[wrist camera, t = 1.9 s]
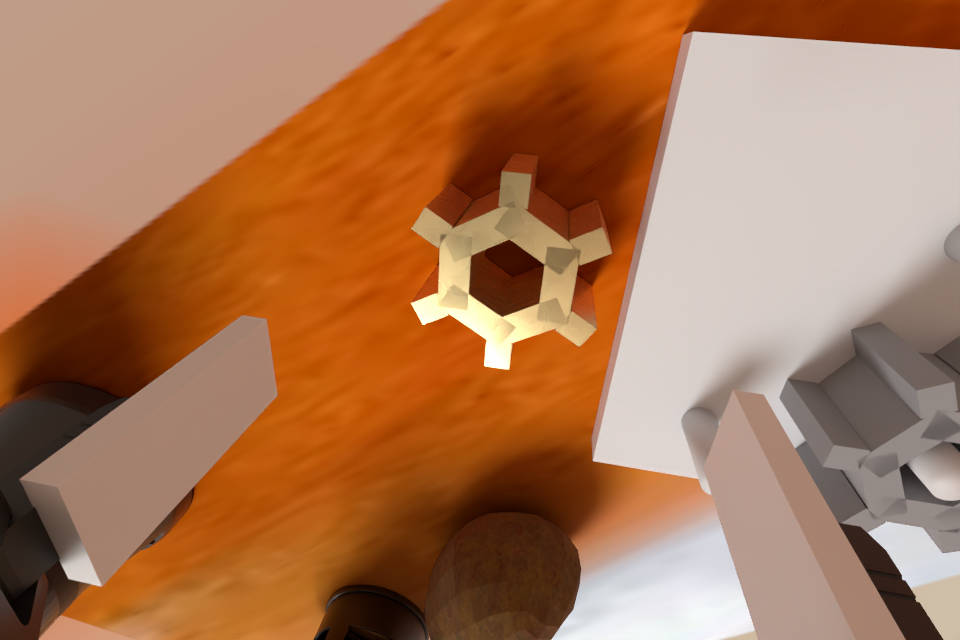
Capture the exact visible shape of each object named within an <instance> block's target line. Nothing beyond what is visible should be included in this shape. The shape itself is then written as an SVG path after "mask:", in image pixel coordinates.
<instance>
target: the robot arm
mask: <svg viewBox="0 0 960 640" xmlns="http://www.w3.org/2000/svg"><path fill="white" fill-rule="evenodd" d="M277 395H278V394H277V388H276V381H275V374H274V367H273V360H272V353H271V346H270V340H269V333H268V326H267V319H264V318H257V317H250V316H244V315H242V316H241V317H239V318H238V319H237V320H235V321H234V322H233V323H231V324H230V325H228V326H227V327H226V328H224V329H223V330H222V331H220V332H219V333H218V334H216V335H215V336H214V337H212V338H211V339H209V340H208V341H207V342H205V343H204V344H203V345H201V346H200V347H199V348H197V349H196V350H194V351H193V352H192V353H190V354H189V355H188V356H186V357H185V358H184V359H182V360H181V361H180V362H178V363H177V364H175V365H174V366H173V367H171V368H170V369H169V370H167V371H166V372H165V373H163V374H162V375H160V376H159V377H158V378H156V379H155V380H154V381H152V382H151V383H150V384H148V385H147V386H146V387H144V388H143V389H141V390H140V391H139V392H137V393H136V394H135V395H133V396H132V397H131V398H129V397H123V398H121V399H118V398H116V397H114V396H112V395H109V394H107V393H105V392H103V391H100V390H97V389H94V388H91V387H88V386H84V385H80V384H75V383H68V382H50V383H44V384H40V385H37V386H35V387H33V388H31V389H29V390H28V391H26V392H24V393H23V394H21V395H19V396H17V397H16V398H14V399H12V400H11V401H9V402H7V403H6V404H4V405H3V406H2V407H0V640H39V638H40V637H41V636H42V635H43V634H44V632H45V631H46V630H47V629H48V628H49V627H50V626H51V625H52V624H53V623H54V622H55V620H56V619H57V618H58V617H59V616H60V615H61V614H62V613H63V612H64V611H65V610H66V609H67V608H68V607H69V606H70V605H71V603H72V602H73V601H74V600H75V599H76V598H77V597H78V596H79V595H80V594H81V593H82V592H83V591H84V590H85V589H87V588H88V587H89V586H91V585H97V586H101V587H102V586H103V585H104V584H105V583H106V582H107V581H108V580H109V579H110V578H111V576H112V575H113V574H114V573H115V572H116V571H117V570H118V569H119V568H120V567H121V566H122V564H123V563H124V562H125V561H126V560H128V559H129V558H131V557H132V556H133V555H135V554H136V553H137V552H139V551H140V550H143V549H146V548H148V547H150V546H152V545H154V544H155V543H157V542H158V541H160V540H161V539H162V538H163V537H165V536H166V535H167V534H168V533H169V532H170V530H171V529H172V528H173V527H174V526H175V525H176V524H177V522H178V521H179V520H180V519H181V518H182V517H183V516H184V514H185V513H186V512H187V510H188V508H189V506H190V503H191V500H192V488H193V487H194V486H195V485H196V484H197V483H198V482H199V480H200V479H201V478H202V477H203V476H204V475H205V474H206V473H207V472H208V471H209V470H210V468H211V467H212V466H213V465H214V464H215V463H216V462H217V461H218V460H219V459H220V458H221V456H222V455H223V454H224V453H225V452H226V451H227V450H228V449H229V448H230V447H231V446H232V444H233V443H234V442H235V441H236V440H237V439H238V438H239V437H240V436H241V435H242V434H243V432H244V431H245V430H246V429H247V428H248V427H249V426H250V425H251V424H252V423H253V422H254V420H255V419H256V418H257V417H258V416H259V415H260V414H261V413H262V412H263V411H264V410H265V408H266V407H267V406H268V405H269V404H270V403H271V402H272V401H273V400H274V399H275V398H276V396H277ZM703 469H704V472H705V475H706V478H707V481H708V484H709V487H710V491H711V494H712V497H713V500H714V503H715V506H716V509H717V512H718V516H719V519H720V522H721V525H722V528H723V531H724V534H725V537H726V541H727V544H728V547H729V550H730V553H731V556H732V559H733V562H734V565H735V569H736V572H737V575H738V578H739V581H740V584H741V587H742V590H743V594H744V597H745V600H746V603H747V606H748V609H749V612H750V615H751V618H752V622H753V625H754V628H755V631H756V634H757V637H758V640H943V638H942V637H941V635H940V634H939V632H938V631H937V629H936V628H935V626H934V624H933V623H932V621H931V620H930V618H929V617H928V616H927V614H926V612H925V610H924V609H923V607H922V606H921V604H920V603H919V602H916V600H915V598H916V596H915V595H914V594H913V592H912V591H911V589H910V587H909V586H908V584H907V583H906V581H904V580H902V575H901V573H900V572H899V570H898V569H897V567H896V566H895V564H894V562H893V561H892V559H891V558H890V556H889V555H888V553H887V552H886V550H885V549H884V548H883V547H882V546H881V545H880V544H879V543H877V542H876V541H875V540H874V539H873V538H872V537H871V536H870V535H869V534H868V533H867V532H866V531H865V530H864V529H863V528H862V527H860V526H854V525H849V524H843V523H838V522H837V520H836V519H835V517H834V515H833V513H832V512H831V510H830V508H829V506H828V505H827V503H826V501H825V500H824V498H823V496H822V494H821V493H820V491H819V489H818V487H817V486H816V484H815V482H814V481H813V479H812V477H811V475H810V474H809V472H808V470H807V468H806V467H805V465H804V463H803V462H802V460H801V458H800V456H799V455H798V453H797V451H796V449H795V448H794V446H793V444H792V443H791V441H790V439H789V437H788V436H787V434H786V432H785V430H784V429H783V427H782V425H781V424H780V422H779V420H778V418H777V417H776V415H775V413H774V412H773V410H772V408H771V406H770V405H769V403H768V401H767V399H766V398H765V396H764V394H757V393H751V392H744V391H737V390H733V391H732V394H731V396H730V399H729V401H728V404H727V407H726V409H725V412H724V415H723V417H722V420H721V423H720V425H719V428H718V431H717V433H716V436H715V439H714V441H713V444H712V446H711V449H710V452H709V454H708V457H707V460H706V462H705V465H704V468H703Z"/></svg>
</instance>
